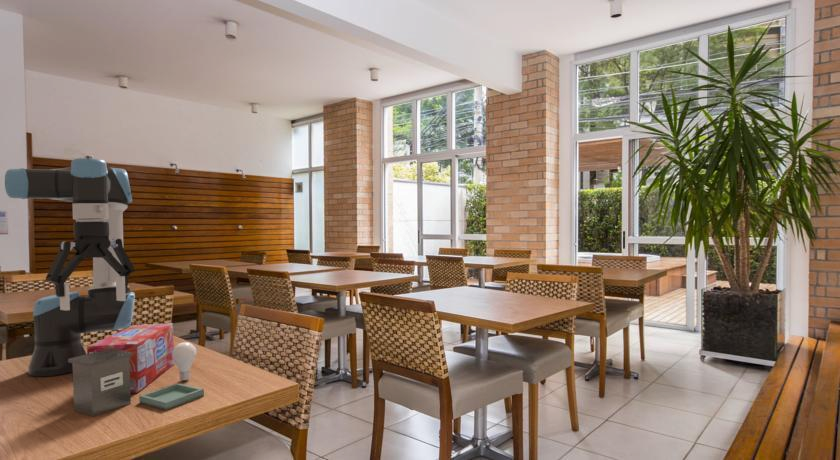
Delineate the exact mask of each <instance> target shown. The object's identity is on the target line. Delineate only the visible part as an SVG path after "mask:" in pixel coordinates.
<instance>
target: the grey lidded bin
mask: <svg viewBox="0 0 840 460" xmlns="http://www.w3.org/2000/svg"><path fill="white" fill-rule="evenodd" d="M130 356H133V353H132V352H127V351H122V350H116V349H107V350H103V351H99V352H95V353H90V354H87V353H86V355H82V356H78V357H74V358H70V359H68V362H70V363H72V365H73V372H72V385H73V387H72V388H73V409H74V410H73V411H74V412H77V413H79V414H80V413H81V414H84V415H86V416H90V417H96V416H98V415H101V414H104V413H108V412H110V411H113V410H116V409H120V408H123V407H124V406H128V405H131V393H130V369H129V357H130Z"/></svg>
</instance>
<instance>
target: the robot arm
mask: <svg viewBox="0 0 840 460" xmlns="http://www.w3.org/2000/svg"><path fill="white" fill-rule="evenodd" d="M4 188H5V189H4V190H5V193H6V195H7V196H8V197H9V198H11V199H21V200H25V199H26V200H28V199H29V200H30V199H32V200H33V199H34V200H35V199H36V200H37V199H38V200H39V199H49V200H51V201H52V200H55V201H56V200H57V201H61V202H62V201H63V202H68V203H69V202H70V203H72V219H73V220H75V222H73V224H72V226H73V231H72V232H73V237H74V240H73V242H70V241H68V240H67V241H60V242H59V248H58V252H57V254H56V256H55V258H54V260H53V262H52V263H51V266H50V268H49V270H48V272H47V273H46V274H47V275H46V276H45V281H47V282H49V283H50V282H51V283H54V285H55V294H54V295H53V294H52V295H49V296H44V297H41V298H39V299H37V300H36V301H34V304H33V313H32V317H33V331H34V336H33V337H34V348H33V349H34V350H33V353H32V355H31V358H30V361H29V365H28V375H29V376H31V377H52V376H60V375H65V374H70V373H73V365H72V363H70V362H68V359H70V358H74V357H78V356H82V355H86V354H87V350H86V349H85V347H84V345H83V343H82V334H87V333H97V332H107V331H116V330H121V329H122V330H124V329H126V328H128V327H130V326H132V325H131V324H132V323H133V321H132V320H133V317H134V309H135V298H136V293H135V292H133V291H131V289H130V288H131V287H130V286H129V279H128V278H129V277H128V276H131V274H132V273H134V272H135V271H136V268H135V267H134V265H133V263H132V261H131V259H130V258H129V256H128V254H127V251H125V248H124V218H123V217H124V215H123V213H124V212H125V211H126V210H127V209H128V207H129V206H128V205H129V204H130V203H132V202H133V198H132V192H131V186H130V181H129V175H128V172H127V170H126V169H125V168H120V167H119V168H117V167H112V166H111V167H107V162H106V161H105V160H104V159H100V158H91V157H90V158H89V157H87V158H85V157H84V158H83V157H82V158H81V157H80V158H74V159H72V160H71V163H70V166H69V167H67V166H66V167H60V168H50V169H45V168H43V169H42V168H33V169H32V168H24V167H22V168H9V169H7V170H6V172H5V174H4ZM73 249H74V250H75V251H74V253H73V254H72V256H71V258H70V259H69V261H68V262H67V263H66V261H67V260H68V257H69V255H70V252H71V251H72V250H73ZM85 259H92V266H93V267H92V272H93V273H92V275H93V276H92V279H93V282H92V283H93V284H92V285H91V286H90V287H89V288H88V289H87V295H81V294H80V292H79V291H70V283H69V282H66V281H67V280H68V279H69V277H70V276H71V275H72V274H73V273H74V272H75V270H76V269H77V267H78V266H79V265H80V263H82V261H84V260H85ZM65 263H66V264H65Z"/></svg>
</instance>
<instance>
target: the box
mask: <svg viewBox="0 0 840 460" xmlns="http://www.w3.org/2000/svg"><path fill="white" fill-rule="evenodd" d="M174 340H175V339H174V324H173V322H168V323H167V322H164V323H151V324H150V323H149V324H134V325H133V324H132V325H130V326H129V327H127V328H123V329H122V330H120V331H117V332H115V333H113V334H111V335H109V336H106V337H105V338H102V339H100V340H98V341H96V342H94V343H91V344H89V345H87V347H86V354H90V353H95V352H99V351H103V350H107V349H116V350H122V351H127V352H132V353H133V356H130V357H129V369H130V394H135V393H137V394H138V393H140V391H143V390H144V389H145V388H146V387H147V386H148V385H150V384H151V383H153V382H154V381H155V380H156V379H158V378H159V377H160V376H161V375H163V374H164V373H165V372H166V371H168V370H169V369H170V368H172V367H173V366H175V364H176V363H175V362H174V361H173V359H172V351H173V349H174V347H175V344H174V342H175V341H174Z"/></svg>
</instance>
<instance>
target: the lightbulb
mask: <svg viewBox="0 0 840 460" xmlns="http://www.w3.org/2000/svg"><path fill="white" fill-rule="evenodd" d="M196 357H197V348H196V347H195V345H194V344H192V343H191V342H187V341H183V342H180V343H177V344H176V345H174V349H173V351H172V359H173V361H174V362H175V364H176V366H177V369H178V372H179V380H180V381H182V382H187V381H188V380H190V379H191V372H190V371H191V369H192V364H193V362H194V360H195V358H196Z"/></svg>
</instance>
